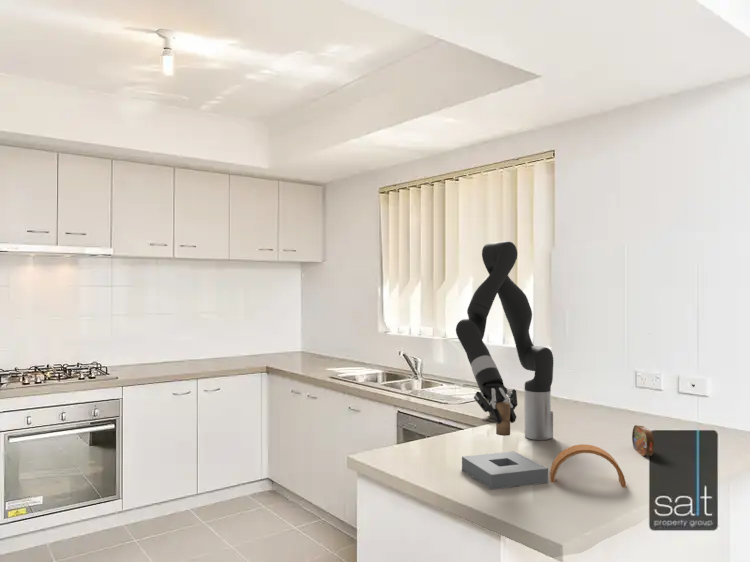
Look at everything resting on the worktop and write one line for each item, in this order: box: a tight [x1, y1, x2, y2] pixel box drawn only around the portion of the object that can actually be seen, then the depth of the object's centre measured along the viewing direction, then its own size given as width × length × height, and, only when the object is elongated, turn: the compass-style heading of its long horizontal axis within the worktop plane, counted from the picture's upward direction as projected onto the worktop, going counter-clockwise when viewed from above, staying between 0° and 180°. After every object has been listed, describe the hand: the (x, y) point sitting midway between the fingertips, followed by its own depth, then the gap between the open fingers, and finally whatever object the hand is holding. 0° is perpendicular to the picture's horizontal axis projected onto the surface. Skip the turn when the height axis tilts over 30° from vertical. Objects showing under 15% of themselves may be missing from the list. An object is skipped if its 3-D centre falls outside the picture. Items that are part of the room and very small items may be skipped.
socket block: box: [461, 450, 549, 490], centre depth 173 cm, size 18×18×4 cm
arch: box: [549, 443, 627, 488], centre depth 168 cm, size 6×20×10 cm, turn 76°
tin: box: [631, 424, 655, 457], centre depth 196 cm, size 15×3×8 cm, turn 173°
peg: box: [495, 402, 511, 437], centre depth 173 cm, size 4×4×9 cm
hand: (506, 421), depth 171 cm, fingers closed on peg, 4 cm apart
